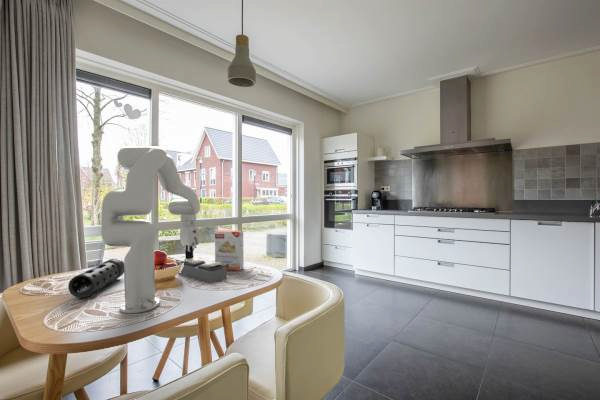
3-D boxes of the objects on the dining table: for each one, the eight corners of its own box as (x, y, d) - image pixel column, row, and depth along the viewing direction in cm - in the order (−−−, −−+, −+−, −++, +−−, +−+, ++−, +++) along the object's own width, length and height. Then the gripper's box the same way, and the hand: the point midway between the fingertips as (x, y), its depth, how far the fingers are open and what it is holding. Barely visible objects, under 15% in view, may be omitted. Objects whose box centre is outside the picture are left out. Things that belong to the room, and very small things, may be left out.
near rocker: (220, 265, 135) (219, 261, 135) (211, 268, 131) (211, 264, 131) (209, 265, 140) (209, 262, 140) (201, 268, 136) (200, 264, 136)
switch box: (226, 277, 136) (226, 265, 136) (210, 282, 129) (210, 269, 128) (194, 269, 151) (194, 258, 151) (178, 273, 144) (178, 261, 143)
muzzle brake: (67, 301, 108) (66, 274, 108) (106, 279, 136) (105, 257, 135) (94, 300, 109) (94, 273, 109) (127, 278, 137) (127, 257, 137)
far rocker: (202, 263, 143) (202, 260, 143) (193, 265, 139) (193, 262, 139) (192, 260, 148) (193, 256, 148) (184, 262, 144) (184, 258, 144)
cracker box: (214, 270, 149) (214, 231, 149) (219, 267, 155) (219, 229, 155) (239, 271, 147) (239, 231, 147) (243, 268, 153) (243, 230, 153)
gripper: (203, 223, 144) (204, 259, 145) (186, 221, 152) (187, 255, 153) (190, 225, 138) (191, 262, 138) (173, 223, 146) (174, 258, 147)
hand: (189, 258), depth 146 cm, fingers closed
